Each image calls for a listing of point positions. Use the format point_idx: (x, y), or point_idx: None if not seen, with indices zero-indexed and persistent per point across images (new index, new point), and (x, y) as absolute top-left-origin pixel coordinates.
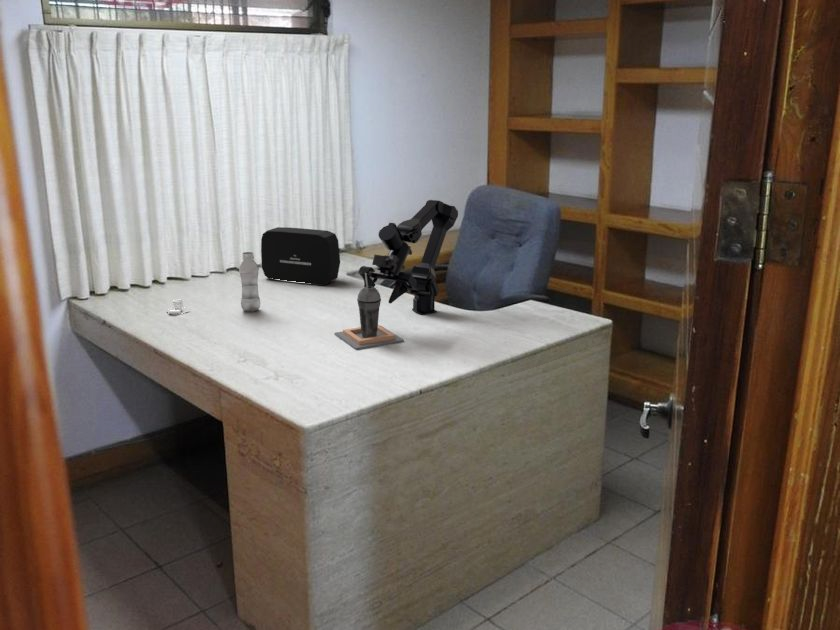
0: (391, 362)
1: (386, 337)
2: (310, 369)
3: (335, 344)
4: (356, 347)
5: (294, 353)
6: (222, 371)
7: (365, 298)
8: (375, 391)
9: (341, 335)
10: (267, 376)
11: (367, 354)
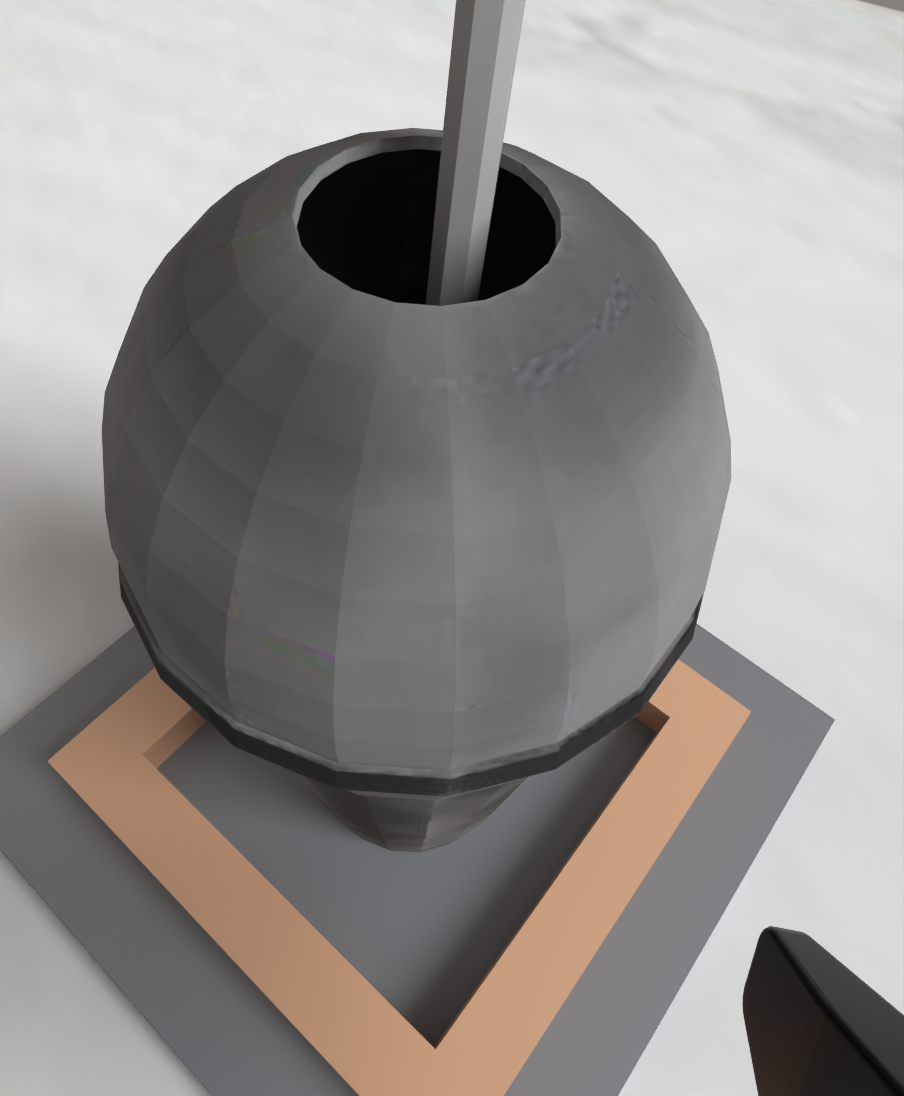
0: (24, 294)
1: (155, 675)
2: None
3: None
4: None
5: (766, 262)
6: (876, 36)
7: (398, 230)
8: (53, 11)
9: (706, 662)
10: (646, 34)
11: None
